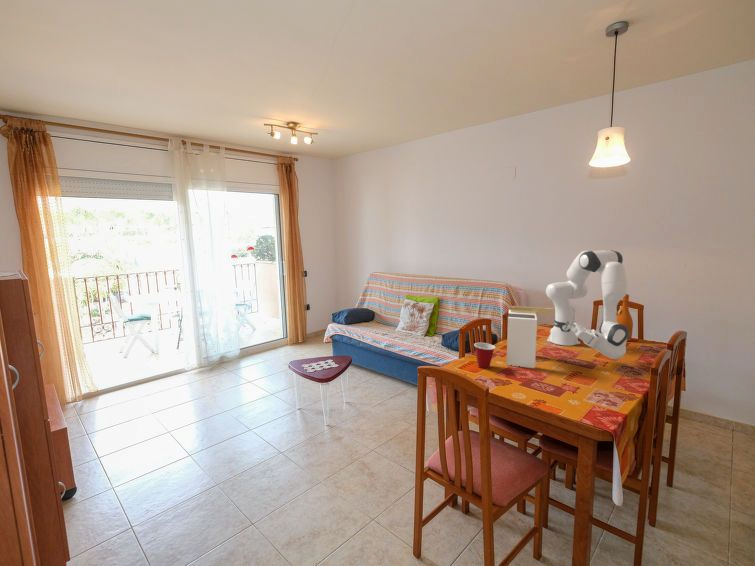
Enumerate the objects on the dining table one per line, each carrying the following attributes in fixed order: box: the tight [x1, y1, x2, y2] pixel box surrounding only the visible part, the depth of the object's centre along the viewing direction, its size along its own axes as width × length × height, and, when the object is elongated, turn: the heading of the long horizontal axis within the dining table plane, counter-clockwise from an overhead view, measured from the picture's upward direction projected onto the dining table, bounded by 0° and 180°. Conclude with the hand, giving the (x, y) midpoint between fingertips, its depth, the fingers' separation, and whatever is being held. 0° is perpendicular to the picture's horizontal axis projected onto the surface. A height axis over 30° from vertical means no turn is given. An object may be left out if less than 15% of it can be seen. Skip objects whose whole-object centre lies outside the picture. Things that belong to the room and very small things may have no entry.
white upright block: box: [505, 309, 538, 369], centre depth 197 cm, size 21×14×26 cm, turn 159°
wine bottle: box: [617, 293, 634, 342], centre depth 229 cm, size 10×10×30 cm
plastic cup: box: [473, 342, 496, 370], centre depth 189 cm, size 11×11×12 cm
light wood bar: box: [510, 305, 555, 316], centre depth 198 cm, size 3×22×3 cm, turn 69°
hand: (566, 323), depth 192 cm, fingers open, 8 cm apart
